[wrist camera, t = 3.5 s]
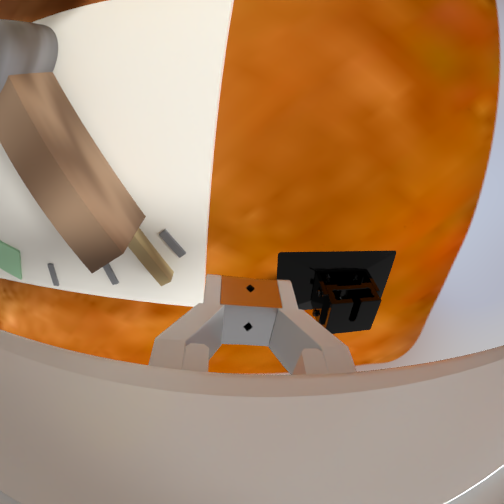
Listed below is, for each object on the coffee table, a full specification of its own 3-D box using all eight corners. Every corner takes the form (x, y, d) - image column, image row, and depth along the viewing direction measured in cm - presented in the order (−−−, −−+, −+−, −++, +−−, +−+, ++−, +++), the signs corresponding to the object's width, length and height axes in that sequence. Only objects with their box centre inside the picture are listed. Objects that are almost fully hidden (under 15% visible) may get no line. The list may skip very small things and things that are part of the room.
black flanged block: (411, 238, 20) (440, 271, 17) (388, 306, 24) (407, 342, 20) (257, 239, 20) (263, 280, 16) (255, 316, 24) (259, 359, 20)
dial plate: (-43, 65, 8) (-55, 67, 7) (233, 1, 11) (233, -8, 10) (-18, 263, 19) (-27, 273, 17) (204, 293, 21) (202, 309, 20)
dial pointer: (-6, 66, 9) (-53, 73, 5) (42, 9, 8) (-5, 1, 4) (141, 288, 18) (123, 337, 15) (201, 258, 17) (192, 309, 13)
